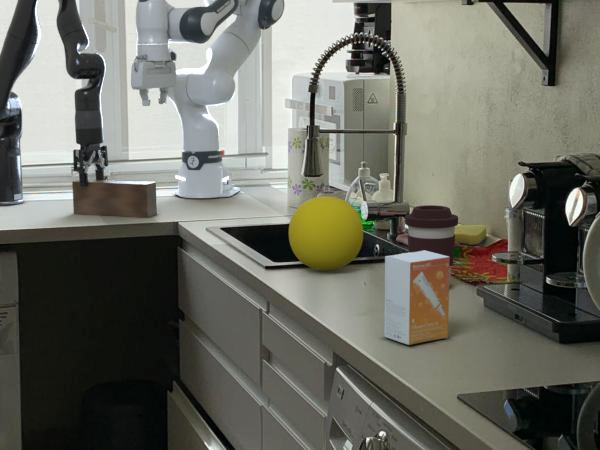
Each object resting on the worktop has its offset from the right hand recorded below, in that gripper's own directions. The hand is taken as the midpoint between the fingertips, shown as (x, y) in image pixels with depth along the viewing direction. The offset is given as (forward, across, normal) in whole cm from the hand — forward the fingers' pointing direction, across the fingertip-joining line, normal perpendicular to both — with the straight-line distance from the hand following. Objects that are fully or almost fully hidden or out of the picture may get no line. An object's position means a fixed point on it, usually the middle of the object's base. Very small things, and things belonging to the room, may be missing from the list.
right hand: (154, 105), depth 292 cm
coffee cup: (+29, -72, -96) cm, 123 cm away
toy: (+30, -63, -72) cm, 101 cm away
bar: (+30, -11, +7) cm, 33 cm away
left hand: (+22, -11, +14) cm, 28 cm away
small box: (+29, -107, -102) cm, 151 cm away
